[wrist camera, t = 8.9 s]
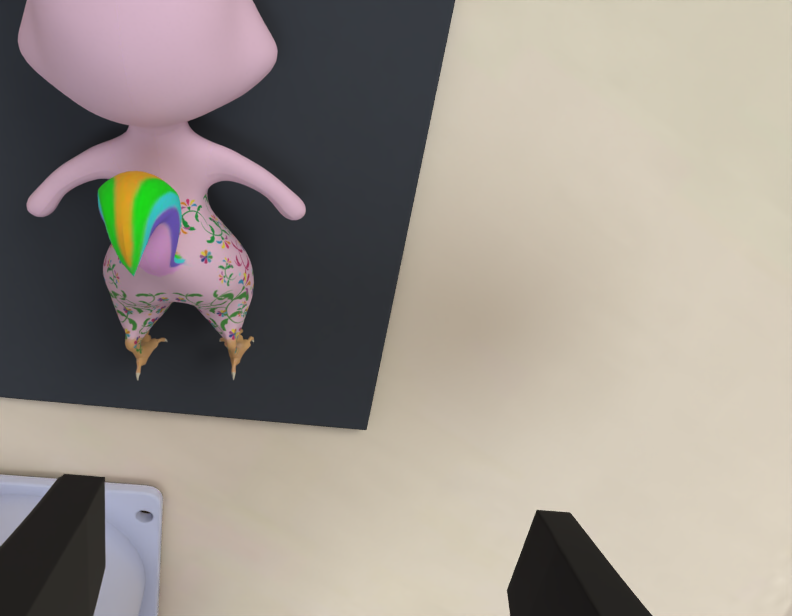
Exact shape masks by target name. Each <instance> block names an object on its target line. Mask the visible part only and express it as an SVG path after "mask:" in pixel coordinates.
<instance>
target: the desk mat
mask: <svg viewBox="0 0 792 616" xmlns="http://www.w3.org/2000/svg"><path fill="white" fill-rule="evenodd" d="M26 1H27V0H0V397H5V398H16V399H27V400H38V401H50V402H61V403H72V404H83V405H94V406H105V407H116V408H127V409H138V410H149V411H160V412H171V413H182V414H193V415H205V416H216V417H227V418H238V419H249V420H260V421H271V422H282V423H293V424H304V425H315V426H326V427H337V428H348V429H359V430H366V429H367V425H368V420H369V415H370V410H371V405H372V401H373V396H374V391H375V386H376V381H377V376H378V371H379V367H380V362H381V357H382V352H383V347H384V342H385V338H386V333H387V328H388V323H389V318H390V313H391V309H392V304H393V299H394V294H395V289H396V284H397V279H398V275H399V270H400V265H401V260H402V255H403V250H404V246H405V241H406V236H407V231H408V226H409V221H410V217H411V212H412V207H413V202H414V197H415V192H416V187H417V183H418V178H419V173H420V168H421V163H422V158H423V154H424V149H425V144H426V139H427V134H428V129H429V125H430V120H431V115H432V110H433V105H434V100H435V95H436V91H437V86H438V81H439V76H440V71H441V66H442V62H443V57H444V52H445V47H446V42H447V37H448V33H449V28H450V23H451V18H452V13H453V8H454V3H455V0H253V2H254V4H255V6H256V8H257V10H258V12H259V14H260V16H261V18H262V20H263V21H264V23H265V25H266V26H267V28H268V30H269V32H270V33H271V35H272V37H273V39H274V41H275V43H276V46H277V50H278V52H277V61H276V63H275V65H274V66H273V68H272V70H271V71H270V72H269V73H268V74H267V75H266V76H265V77H264V78H263V79H262V80H261V81H260V82H259V83H258V84H257V85H255V86H254V87H253V88H252V89H251V90H249V91H248V92H246V93H245V94H243V95H242V96H240V97H239V98H237V99H235V100H233V101H231V102H229V103H227V104H225V105H223V106H222V107H219V108H217V109H215V110H213V111H211V112H209V113H207V114H205V115H203V116H200V117H198V118H195V119H193V120H190V121H187V122H188V124H189V126H190V128H191V129H192V130H193V131H194V132H195V133H196V134H198V135H199V136H201V137H203V138H205V139H207V140H209V141H211V142H214V143H216V144H219V145H222V146H224V147H227V148H229V149H231V150H233V151H235V152H237V153H239V154H240V155H242V156H244V157H246V158H248V159H249V160H251V161H253V162H255V163H256V164H258V165H260V166H261V167H263V168H264V169H266V170H267V171H268V172H270V173H271V174H273V175H274V176H275V177H276V178H277V179H279V180H280V181H281V182H282V183H283V184H284V185H286V186H287V187H288V188H289V189H290V190H291V191H292V192H294V193H295V194H296V195H297V196H298V197H299V198H300V199H301V200H302V201H303V203H304V205H305V208H306V212H305V215H304V216H303V217H302V218H301V219H298V220H290V219H287V218H285V217H284V216H283V215H282V214H281V213H280V212H279V211H278V210H277V209H276V207H275V206H274V205H273V204H272V202H271V201H270V200H269V199H268V198H267V197H265V196H264V195H263V194H261V193H260V192H258V191H256V190H254V189H252V188H250V187H248V186H246V185H243V184H240V183H237V182H232V181H220V182H216V183H214V184H212V185H211V186H210V187H209V188H208V192H207V197H208V202H209V205H210V207H211V209H212V211H213V212H214V213H215V215H216V216H217V217H218V218H219V219H220V220H221V221H222V223H223V224H224V225H225V226H226V227H227V228H228V229H229V230H230V232H231V233H232V234H233V235H234V236H235V237H236V238H237V240H238V241H239V242H240V243H241V245H242V246H243V248H244V249H245V251H246V253H247V255H248V257H249V259H250V262H251V265H252V269H253V276H254V288H253V295H252V299H251V302H250V305H249V308H248V311H247V314H246V317H245V319H244V322H243V325H242V328H241V329H242V330H243V332H242V333H241V334H240V335H242V336H243V340H244V339H247V340H248V339H249V337H250V336H252V337H254V342H253V341H252V340H251V342H250V344H251V346H250V347H249V348H248V349H247V350H246V351H245V353H244V354H243V355H242V357H241V359H240V363H239V364H238V365H236V374H235V378H234V380H233V376H232V373H231V371H232V364H231V359H230V356H229V352H228V349H227V347H226V346H225V344H224V343H225V342H223V341H222V342H220V338H223V337H222V336H221V335H220V334H219V332H218V331H217V330H216V329H215V328H214V327H213V326H212V324H211V323H210V322H209V321H208V320H207V319H206V318H205V317H204V316H203V314H202V313H201V312H200V311H199V310H198V309H197V308H196V307H195V306H194V305H190V304H187V303H181V302H173V303H172V304H171V305H170V307H169V308H168V309H167V310H166V311H165V313H164V314H163V315H162V316H161V317H160V318H159V319H158V320H157V321H156V322H155V323H154V325H153V326H152V327H151V328H150V330H149V333H148V335H150V336H151V339H153V338H155V339H159V338H165V339H167V341H168V342H166V341H165V342H162V341H161V342H159V343H158V346H157V347H156V348H155V349H154V350H153V352H152V353H151V355H150V356H149V357H148V359H147V362H146V364H145V365H143V366H141V373H140V375H139V379H138V380H137V377H136V370H137V363H136V361H137V360H136V357H135V355H134V354H133V352H131V351H129V350H128V349H127V348H126V345H125V330H124V329H123V327H122V324H121V322H120V320H119V317H118V315H117V312H116V309H115V307H114V304H113V301H112V298H111V295H110V293H109V290H108V287H107V285H106V282H105V280H104V275H103V264H104V259H105V256H106V253H107V251H108V249H109V247H110V245H111V241H110V239H109V236H108V233H107V230H106V226H105V223H104V221H103V220H102V218H101V215H100V211H99V207H98V189H99V188H100V187H101V186H102V185H103V184H104V183H105V182H106V181H108V180H109V179H96V180H92V181H89V182H86V183H83V184H81V185H79V186H77V187H75V188H73V189H71V190H70V191H69V192H67V193H66V194H65V195H64V196H63V198H62V199H61V201H60V202H59V204H58V206H57V207H56V209H55V210H54V211H53V212H52V213H51V214H49V215H48V216H45V217H37V216H34V215H32V214H31V213H30V212H29V211H28V210H27V205H26V204H27V201H28V198H29V197H30V195H31V194H32V193H33V192H34V191H35V190H36V189H37V188H38V187H39V186H40V185H41V184H42V183H43V182H44V180H45V179H46V178H47V177H48V176H49V175H50V174H52V173H53V172H54V171H55V170H56V169H57V168H59V167H60V166H61V165H63V164H64V163H66V162H67V161H69V160H70V159H72V158H74V157H75V156H77V155H79V154H81V153H82V152H84V151H86V150H87V149H89V148H91V147H93V146H95V145H98V144H100V143H103V142H106V141H109V140H111V139H114V138H116V137H118V136H120V135H122V134H123V133H125V132H126V131H127V129H128V127H129V125H125V124H121V123H117V122H114V121H111V120H108V119H105V118H103V117H100V116H98V115H96V114H94V113H92V112H90V111H88V110H86V109H85V108H83V107H82V106H80V105H78V104H77V103H76V102H74V101H73V100H71V99H70V98H69V97H67V96H66V95H64V94H63V93H62V92H61V91H59V90H58V89H57V88H55V87H54V86H53V85H52V84H50V83H49V82H48V81H47V80H45V79H44V78H43V77H42V76H41V75H39V74H38V73H37V72H36V71H35V70H34V69H33V68H32V67H31V66H30V65H29V64H28V63H27V61H26V60H25V58H24V57H23V55H22V54H21V52H20V49H19V44H18V34H19V29H20V25H21V21H22V17H23V14H24V10H25V5H26Z"/></svg>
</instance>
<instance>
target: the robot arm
mask: <svg viewBox="0 0 792 616" xmlns="http://www.w3.org/2000/svg"><path fill="white" fill-rule="evenodd" d="M144 510H145V511H149V512H150V513H143V512H141V511H144ZM162 511H163V496H162V493H161V492H160V491H159V490H158V489H156V488H155V487H152V486H148V485H135V484H122V483H109V482H105V477H95V476H82V475H69V474H64V475H63V476H61V477H60V478H58V479H55V478H42V477H29V476H15V475H2V474H0V616H158V609H159V585H160V560H161V535H162ZM507 593H508V601H509V609H510V616H652V615H651V614H650V612H649V611H648V610H647V609H646V608H645V606H644V605H643V604H642V603H641V602H640V600H639V599H638V598H637V597H636V595H635V594H634V593H633V592H632V591H631V589H630V588H629V587H628V586H627V584H626V583H625V582H624V581H623V579H622V578H621V577H620V576H619V574H618V573H617V572H616V570H615V569H614V568H613V567H612V565H611V564H610V563H609V562H608V560H607V559H606V558H605V556H604V555H603V554H602V553H601V551H600V550H599V549H598V547H597V546H596V545H595V544H594V542H593V541H592V540H591V538H590V537H589V536H588V535H587V533H586V532H585V531H584V529H583V528H582V527H581V526H580V524H579V523H578V522H577V521H576V519H575V518H574V517H573V516H572V514H571V513H569V512H556V511H543V510H537V511H536V514H535V516H534V519H533V522H532V524H531V527H530V530H529V532H528V535H527V538H526V540H525V543H524V546H523V549H522V551H521V554H520V557H519V559H518V562H517V565H516V567H515V570H514V573H513V575H512V578H511V581H510V583H509V586H508V589H507Z"/></svg>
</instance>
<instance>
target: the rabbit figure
mask: <svg viewBox="0 0 792 616" xmlns="http://www.w3.org/2000/svg"><path fill="white" fill-rule="evenodd" d="M18 44H19V49H20V52H21V54H22V55H23V57H24V58H25V60H26V61H27V63H28V64H29V65H30V66H31V67H32V68H33V69H34V70H35V71H36V72H37V73H38V74H39V75H41V76H42V77H43V78H44V79H45V80H47V81H48V82H49V83H50V84H52V85H53V86H54V87H55V88H57V89H58V90H59V91H61V92H62V93H63V94H64V95H66V96H67V97H69V98H70V99H71V100H73V101H74V102H76V103H77V104H78V105H80V106H82V107H83V108H85V109H86V110H88V111H90V112H92V113H94V114H96V115H98V116H100V117H103V118H105V119H108V120H111V121H114V122H117V123H121V124H125V125H129V127H128V129H127V131H126V132H125V133H123V134H122V135H120V136H118V137H116V138H114V139H111V140H109V141H106V142H103V143H100V144H98V145H95V146H93V147H91V148H89V149H87V150H86V151H84V152H82V153H81V154H79V155H77V156H75V157H74V158H72V159H70V160H69V161H67V162H66V163H64V164H63V165H61V166H60V167H59V168H57V169H56V170H55V171H54V172H53V173H52V174H50V175H49V176H48V177H47V178H46V179H45V180H44V182H43V183H42V184H41V185H40V186H39V187H38V188H37V189H36V190H35V191H34V192H33V193H32V194H31V195H30V197H29V198H28V201H27V204H26V205H27V210H28V211H29V212H30V213H31V214H32V215H34V216H37V217H45V216H48V215H49V214H51V213H52V212H53V211H54V210H55V209H56V207H57V206H58V204H59V202H60V201H61V199H62V198H63V196H64V195H65V194H66V193H67V192H69V191H70V190H71V189H73V188H75V187H77V186H79V185H81V184H83V183H86V182H89V181H92V180H96V179H109V180H108V181H106V182H105V183H104V184H103V185H102V186H101V187H100V188H99V189H98V207H99V211H100V215H101V218H102V220H103V221H104V223H105V226H106V230H107V233H108V236H109V239H110V241H111V245H110V247H109V249H108V251H107V253H106V256H105V259H104V264H103V275H104V280H105V282H106V285H107V287H108V290H109V293H110V295H111V298H112V301H113V304H114V307H115V309H116V312H117V315H118V317H119V320H120V322H121V324H122V327H123V329H124V330H125V345H126V348H127V349H128V350H129V351H131V352H133V354H134V355H135V357H136V360H137V361H136V363H137V370H136V377H137V380H138V379H139V375H140V373H141V366H143V365H145V364H146V362H147V359H148V357H149V356H150V355H151V353H152V352H153V350H154V349H155V348H156V347H157V346H158V343H159V342H161V341H162V342H165V341H166V342H168V341H167V339H165V338H159V339H155V338H153V339H151V336H150V335H148V333H149V330H150V328H151V327H152V326H153V325H154V323H155V322H156V321H157V320H158V319H159V318H160V317H161V316H162V315H163V314H164V313H165V311H166V310H167V309H168V308H169V307H170V305H171V304H172V303H173V302H181V303H187V304H190V305H194V306H195V307H196V308H197V309H198V310H199V311H200V312H201V313H202V314H203V316H204V317H205V318H206V319H207V320H208V321H209V322H210V323H211V324H212V326H213V327H214V328H215V329H216V330H217V331H218V332H219V334H220V335H221V336H222V337H223V338H220V342H222V341H223V342H225V343H224V344H225V346H226V347H227V349H228V352H229V356H230V359H231V364H232V371H231V373H232V376H233V380H234V378H235V374H236V365H238V364H239V363H240V359H241V357H242V355H243V354H244V353H245V351H246V350H247V349H248V348H249V347H250V346H251V344H250V342H251V340H252V341H253V342H254V337H252V336H250V337H249V339H248V340H247V339H244V340H243V336H242V335H240V334H241V333H242V332H243V330H242V329H241V328H242V325H243V322H244V319H245V317H246V314H247V311H248V308H249V305H250V302H251V299H252V295H253V288H254V276H253V269H252V265H251V262H250V259H249V257H248V255H247V253H246V251H245V249H244V248H243V246H242V245H241V243H240V242H239V241H238V240H237V238H236V237H235V236H234V235H233V234H232V233H231V232H230V230H229V229H228V228H227V227H226V226H225V225H224V224H223V223H222V221H221V220H220V219H219V218H218V217H217V216H216V215H215V213H214V212H213V211H212V209H211V207H210V205H209V202H208V197H207V192H208V188H209V187H210V186H211V185H212V184H214V183H216V182H220V181H232V182H237V183H240V184H243V185H246V186H248V187H250V188H252V189H254V190H256V191H258V192H260V193H261V194H263V195H264V196H265V197H267V198H268V199H269V200H270V201H271V202H272V204H273V205H274V206H275V207H276V209H277V210H278V211H279V212H280V213H281V214H282V215H283V216H284V217H285V218H287V219H290V220H298V219H301V218H302V217H303V216H304V215H305V212H306V208H305V205H304V203H303V201H302V200H301V199H300V198H299V197H298V196H297V195H296V194H295V193H294V192H292V191H291V190H290V189H289V188H288V187H287V186H286V185H284V184H283V183H282V182H281V181H280V180H279V179H277V178H276V177H275V176H274V175H273V174H271V173H270V172H268V171H267V170H266V169H264V168H263V167H261V166H260V165H258V164H256V163H255V162H253V161H251V160H249V159H248V158H246V157H244V156H242V155H240V154H239V153H237V152H235V151H233V150H231V149H229V148H227V147H224V146H222V145H219V144H216V143H214V142H211V141H209V140H207V139H205V138H203V137H201V136H199V135H198V134H196V133H195V132H194V131H193V130H192V129H191V128H190V126H189V124H188V122H187V121H190V120H193V119H195V118H198V117H200V116H203V115H205V114H207V113H209V112H211V111H213V110H215V109H217V108H219V107H222V106H223V105H225V104H227V103H229V102H231V101H233V100H235V99H237V98H239V97H240V96H242V95H243V94H245V93H246V92H248V91H249V90H251V89H252V88H253V87H254V86H255V85H257V84H258V83H259V82H260V81H261V80H262V79H263V78H264V77H265V76H266V75H267V74H268V73H269V72H270V71H271V70H272V68H273V66H274V65H275V63H276V61H277V52H278V50H277V46H276V43H275V41H274V39H273V37H272V35H271V33H270V32H269V30H268V28H267V26H266V25H265V23H264V21H263V20H262V18H261V16H260V14H259V12H258V10H257V8H256V6H255V4H254V2H253V0H27V1H26V5H25V10H24V14H23V17H22V21H21V25H20V29H19V34H18Z"/></svg>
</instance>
